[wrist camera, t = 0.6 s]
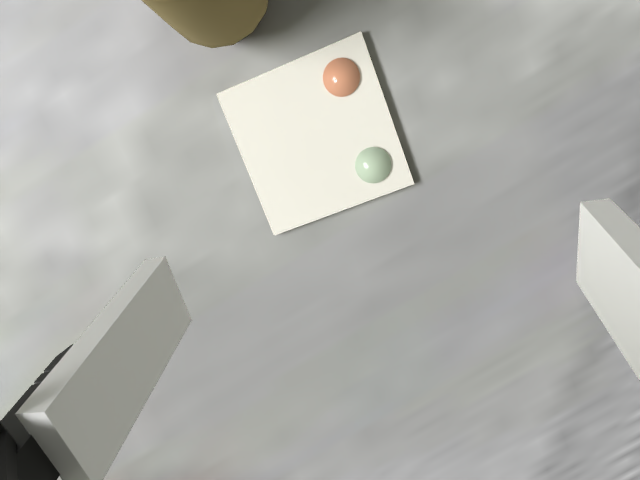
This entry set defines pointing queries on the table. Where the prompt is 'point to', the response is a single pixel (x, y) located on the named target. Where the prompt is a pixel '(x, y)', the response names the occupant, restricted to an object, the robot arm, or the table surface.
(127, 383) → the robot arm
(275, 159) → the card
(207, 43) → the squeeze bottle
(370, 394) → the table surface
